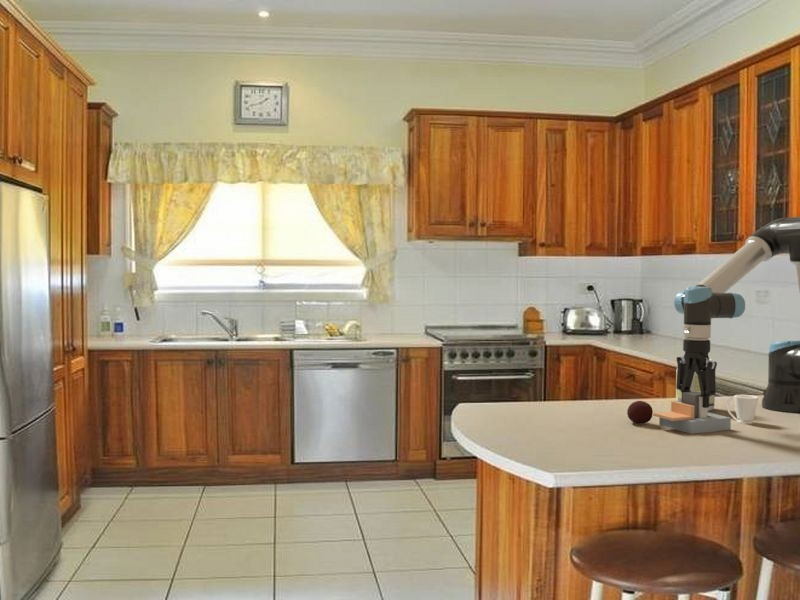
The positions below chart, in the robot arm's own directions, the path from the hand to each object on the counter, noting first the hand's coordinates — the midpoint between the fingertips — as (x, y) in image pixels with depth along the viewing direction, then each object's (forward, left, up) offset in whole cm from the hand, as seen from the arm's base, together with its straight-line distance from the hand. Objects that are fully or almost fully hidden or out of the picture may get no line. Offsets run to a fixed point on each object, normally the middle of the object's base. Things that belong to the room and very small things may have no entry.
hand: (694, 416), depth 228 cm
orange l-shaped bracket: (+8, 0, 0) cm, 8 cm away
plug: (0, 0, -2) cm, 2 cm away
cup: (-20, -1, -4) cm, 20 cm away
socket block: (0, 0, -3) cm, 3 cm away
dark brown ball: (+12, -10, -4) cm, 16 cm away
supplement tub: (-22, -22, -4) cm, 31 cm away
